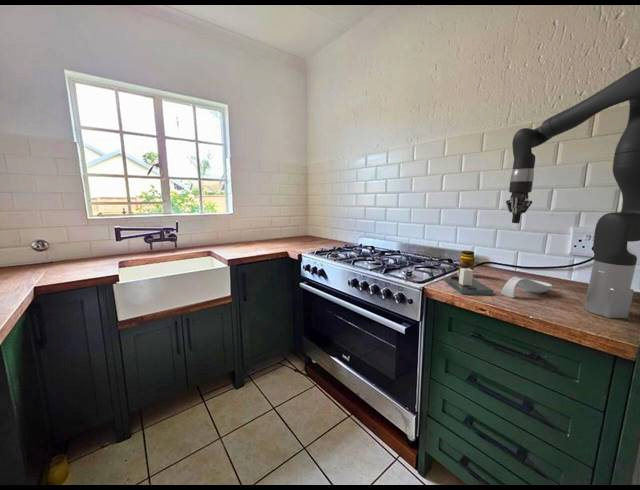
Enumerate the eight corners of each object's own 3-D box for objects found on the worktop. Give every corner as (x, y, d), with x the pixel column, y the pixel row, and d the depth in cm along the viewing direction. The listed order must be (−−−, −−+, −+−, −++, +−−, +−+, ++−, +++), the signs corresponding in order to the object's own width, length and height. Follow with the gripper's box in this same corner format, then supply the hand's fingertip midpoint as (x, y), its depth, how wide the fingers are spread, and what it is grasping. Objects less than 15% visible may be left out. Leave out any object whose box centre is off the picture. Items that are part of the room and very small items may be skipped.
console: (492, 295, 105) (493, 288, 104) (461, 294, 105) (462, 287, 105) (471, 282, 121) (472, 276, 120) (444, 281, 121) (445, 275, 121)
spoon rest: (524, 284, 119) (526, 269, 118) (556, 293, 109) (559, 276, 107) (492, 292, 108) (494, 275, 107) (524, 303, 98) (527, 284, 97)
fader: (471, 285, 109) (473, 270, 108) (462, 285, 109) (464, 270, 108) (467, 282, 112) (469, 268, 111) (458, 282, 112) (460, 268, 111)
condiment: (458, 276, 130) (461, 252, 127) (456, 272, 137) (458, 248, 135) (475, 278, 127) (478, 253, 125) (472, 273, 135) (475, 250, 133)
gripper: (543, 179, 104) (536, 224, 107) (519, 181, 117) (514, 221, 120) (523, 179, 104) (517, 224, 107) (502, 181, 117) (496, 221, 120)
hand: (515, 223), depth 113 cm, fingers closed
